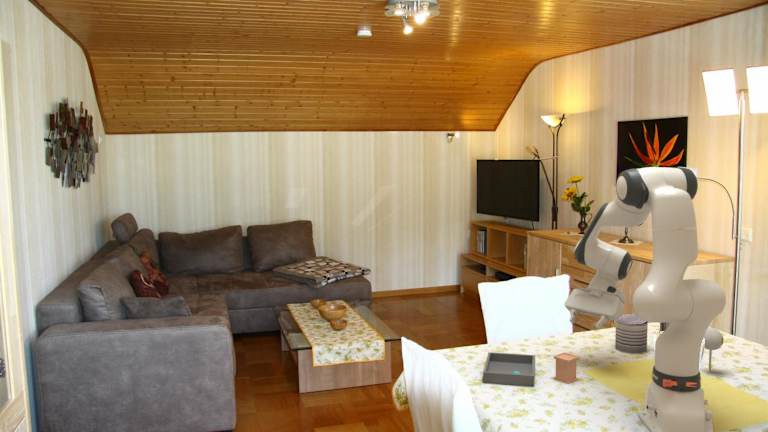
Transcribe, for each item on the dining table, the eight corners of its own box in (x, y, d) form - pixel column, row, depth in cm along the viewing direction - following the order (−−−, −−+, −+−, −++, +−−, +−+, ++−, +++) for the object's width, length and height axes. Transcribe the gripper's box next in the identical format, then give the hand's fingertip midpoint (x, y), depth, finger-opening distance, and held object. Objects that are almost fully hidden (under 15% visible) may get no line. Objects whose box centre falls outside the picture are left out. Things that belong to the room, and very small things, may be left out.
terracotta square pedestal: (563, 374, 210) (564, 352, 209) (578, 379, 205) (578, 356, 204) (553, 379, 206) (553, 356, 205) (567, 383, 202) (568, 360, 201)
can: (652, 354, 228) (653, 321, 227) (620, 354, 228) (621, 322, 227) (640, 344, 240) (641, 313, 238) (610, 344, 240) (610, 313, 238)
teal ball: (518, 380, 205) (516, 370, 206) (523, 379, 203) (521, 370, 203) (510, 381, 204) (509, 372, 205) (515, 381, 201) (514, 371, 202)
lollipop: (720, 378, 204) (722, 332, 203) (696, 374, 208) (698, 329, 206) (722, 371, 210) (724, 327, 209) (698, 367, 214) (700, 324, 212)
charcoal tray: (534, 386, 200) (534, 376, 200) (483, 382, 204) (483, 372, 203) (535, 365, 219) (535, 355, 219) (488, 361, 223) (488, 352, 223)
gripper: (571, 281, 224) (554, 314, 219) (623, 290, 207) (606, 326, 203) (579, 291, 227) (562, 323, 222) (631, 301, 210) (614, 336, 206)
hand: (583, 325), depth 212 cm, fingers open, 8 cm apart
